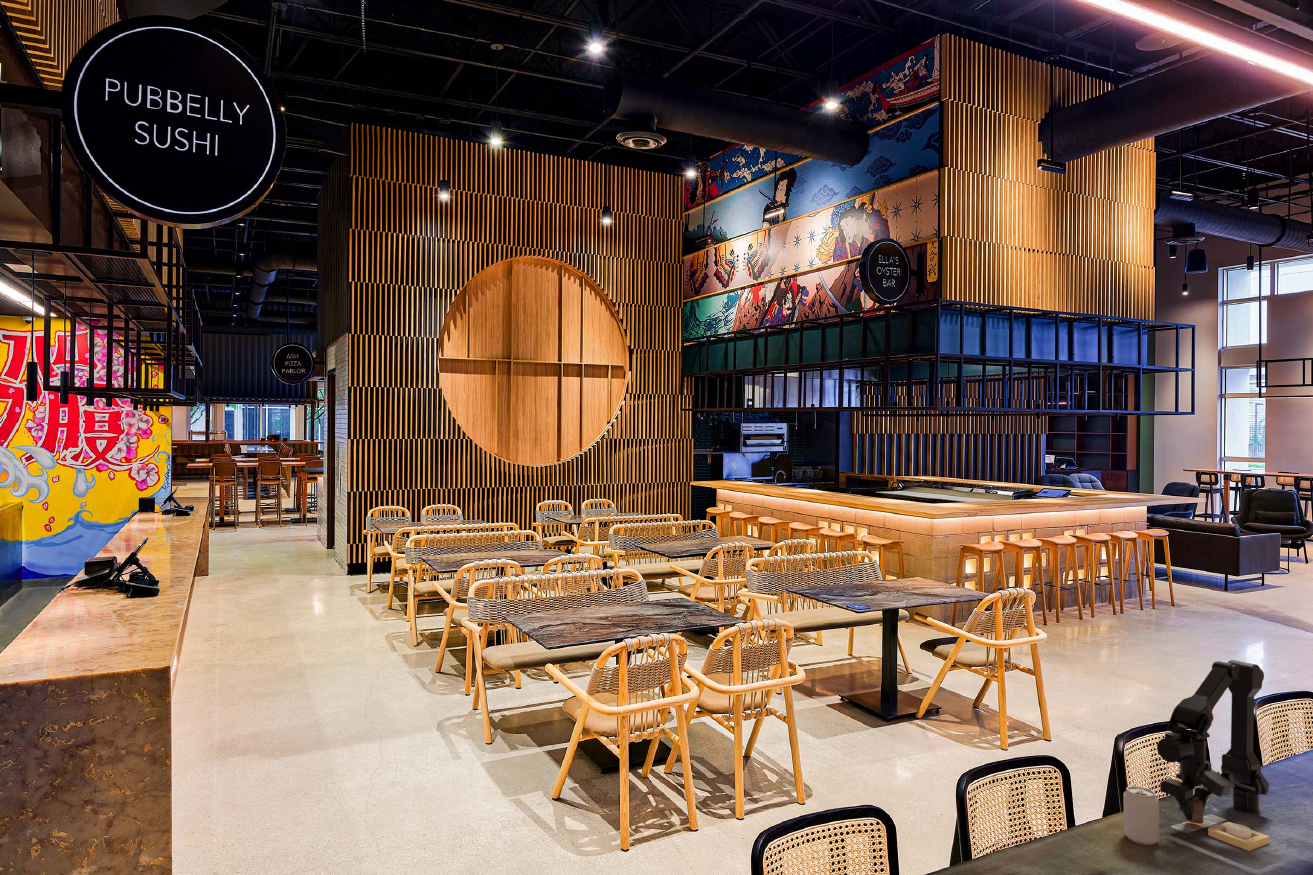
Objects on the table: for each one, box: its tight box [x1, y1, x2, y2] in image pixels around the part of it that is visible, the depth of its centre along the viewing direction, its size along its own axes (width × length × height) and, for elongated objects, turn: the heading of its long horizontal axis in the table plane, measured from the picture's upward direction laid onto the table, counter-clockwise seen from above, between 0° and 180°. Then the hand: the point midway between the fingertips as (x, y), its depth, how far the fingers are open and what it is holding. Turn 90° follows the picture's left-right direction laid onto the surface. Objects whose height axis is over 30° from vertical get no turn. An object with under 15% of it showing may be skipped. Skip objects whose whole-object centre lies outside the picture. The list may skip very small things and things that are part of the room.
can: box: [1122, 785, 1160, 846], centre depth 198 cm, size 8×8×12 cm
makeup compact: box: [1170, 813, 1227, 834], centre depth 205 cm, size 18×7×1 cm, turn 116°
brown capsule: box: [1183, 799, 1204, 825], centre depth 204 cm, size 4×4×5 cm
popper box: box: [1207, 821, 1270, 852], centre depth 196 cm, size 9×9×2 cm
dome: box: [1226, 822, 1252, 840], centre depth 196 cm, size 5×5×3 cm
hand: (1193, 817), depth 204 cm, fingers closed on brown capsule, 4 cm apart
